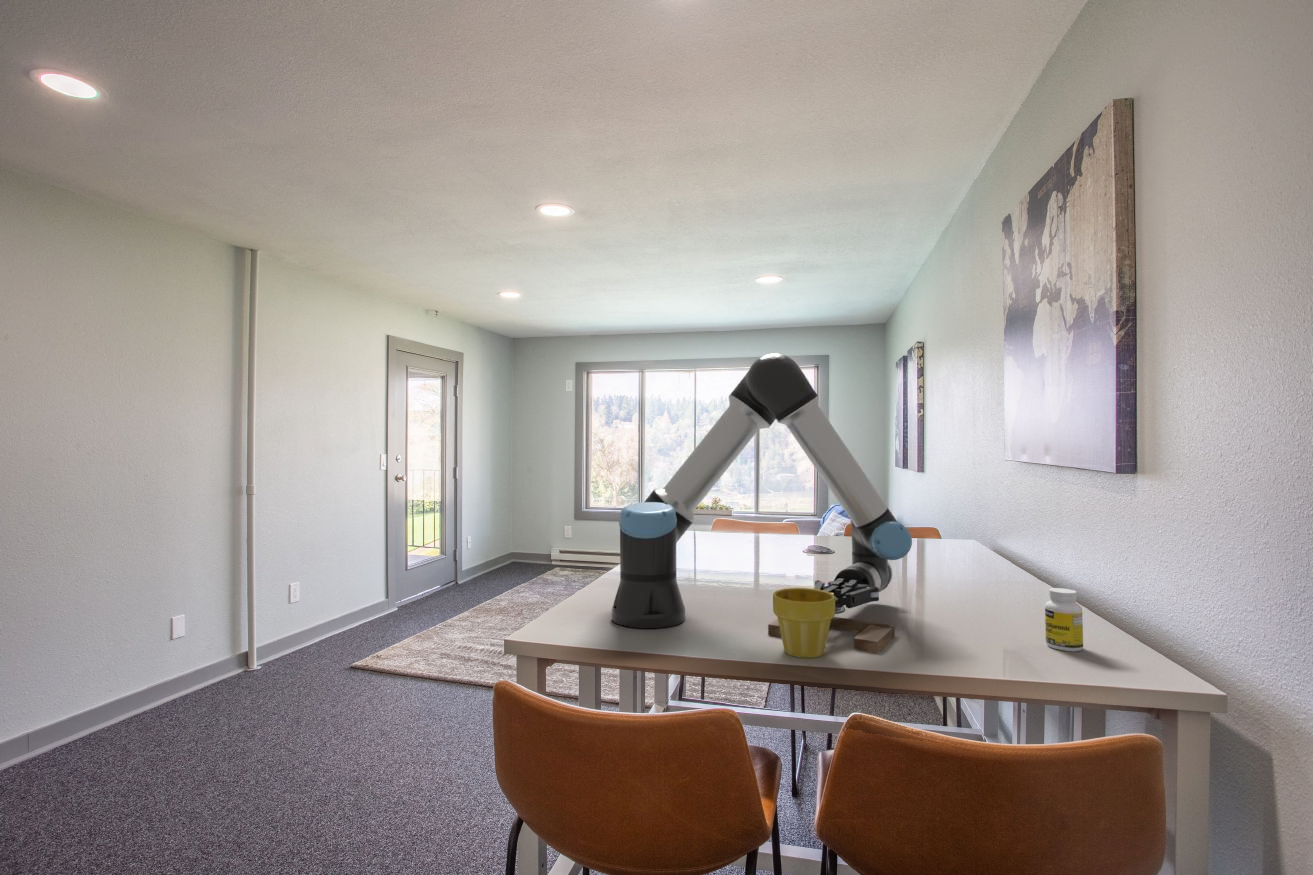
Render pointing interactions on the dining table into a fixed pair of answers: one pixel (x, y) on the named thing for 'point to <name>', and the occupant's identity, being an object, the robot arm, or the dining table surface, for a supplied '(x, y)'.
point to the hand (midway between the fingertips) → (817, 607)
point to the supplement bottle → (1063, 620)
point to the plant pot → (804, 619)
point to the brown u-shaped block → (868, 639)
